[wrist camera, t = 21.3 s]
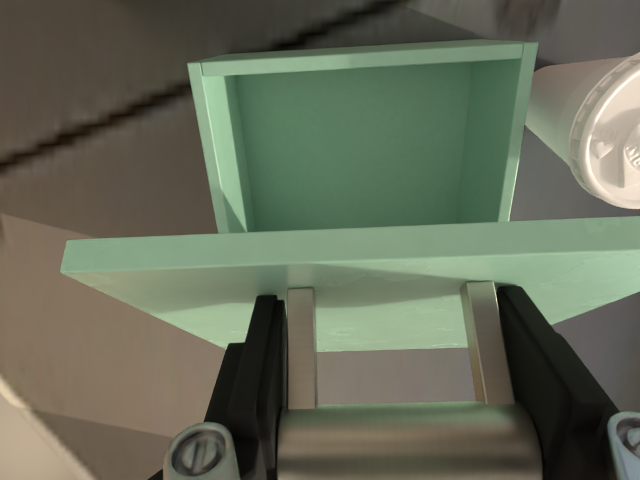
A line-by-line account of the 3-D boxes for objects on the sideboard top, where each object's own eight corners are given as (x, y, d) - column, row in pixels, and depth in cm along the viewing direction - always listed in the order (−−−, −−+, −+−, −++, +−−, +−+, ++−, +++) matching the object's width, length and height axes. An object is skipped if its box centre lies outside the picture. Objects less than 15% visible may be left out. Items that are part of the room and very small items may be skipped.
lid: (65, 239, 9) (3, 523, 7) (746, 210, 9) (880, 511, 7) (236, 340, 24) (231, 442, 22) (492, 332, 24) (510, 437, 22)
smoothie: (471, 124, 25) (609, 214, 13) (538, 17, 23) (794, 0, 10) (555, 167, 27) (756, 289, 14) (628, 70, 24) (957, 114, 11)
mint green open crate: (223, 54, 24) (186, 62, 18) (481, 38, 23) (539, 42, 17) (256, 277, 31) (237, 341, 24) (456, 270, 30) (490, 334, 24)
